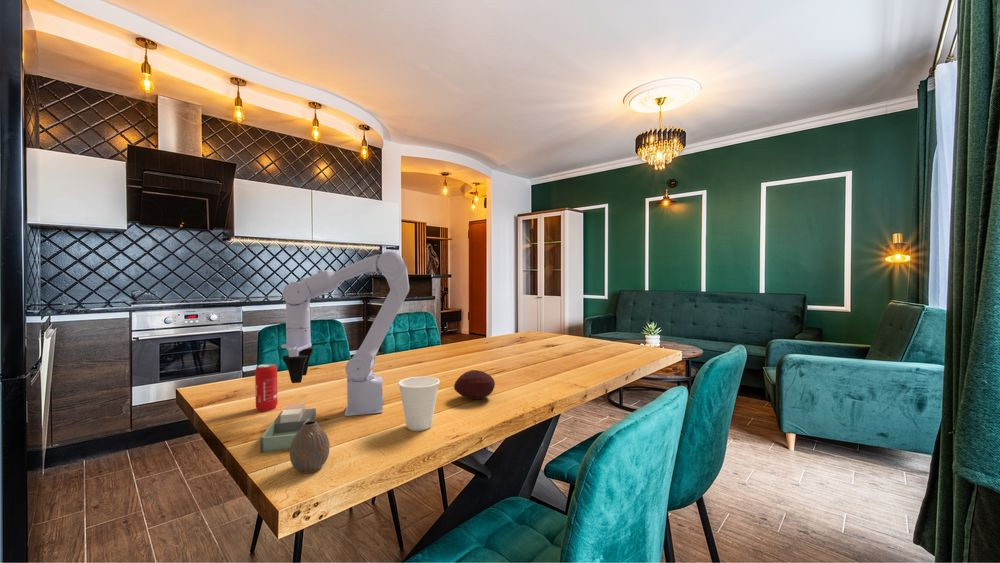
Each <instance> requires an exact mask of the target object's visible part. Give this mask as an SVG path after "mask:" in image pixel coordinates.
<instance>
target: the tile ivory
mask: <svg viewBox="0 0 1000 563" xmlns="http://www.w3.org/2000/svg"><path fill="white" fill-rule="evenodd" d="M302 416H303V409H302V408H299V409H287V410H285V409H283V412H282V414H281V415H280V423H287V422H297V421H300V419H301V417H302Z"/></svg>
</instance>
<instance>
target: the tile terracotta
mask: <svg viewBox="0 0 1000 563" xmlns="http://www.w3.org/2000/svg"><path fill="white" fill-rule="evenodd" d="M306 404H307V403H306V402H299V403H298V402H296V403H288V404H286V406H285V408H284V410H287V409H299V408H302V409H303V414H304V412H305V410H306V409H307V406H306Z"/></svg>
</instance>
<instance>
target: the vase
mask: <svg viewBox="0 0 1000 563" xmlns="http://www.w3.org/2000/svg"><path fill="white" fill-rule="evenodd" d="M329 456H330V440H329V437H328V435H327V433H326V432H325V431H324V430H323V428H321V427H320V425H319V423H318V422H317V420H315V421H307V422H304V423H303V424H302V427H301V429H300V430H299V431H298V433H297V434H296V435H295V437H294V438H293V440H292V443H291V446H290V450H289V459H290V463H291V465H292V468H294V469H295V470H296V471H297V472H299V473H301V474H310V473H314V472H317V471H318V470H320V469H322V467H323V466H324V465H325V464H326V462H327V460H328V458H329Z"/></svg>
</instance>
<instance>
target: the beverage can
mask: <svg viewBox="0 0 1000 563" xmlns="http://www.w3.org/2000/svg"><path fill="white" fill-rule="evenodd" d="M254 372H255V374H254V375H255V376H254V380H255V381H254V383H255V384H254V385H255V388H254V389H255V408H256V410H257V411H258V412H270V411H273V410H276V408H277V405H278V404H279V403H278V367H277V364H276V363H263V364H259V365H256V367H255V369H254Z"/></svg>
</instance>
